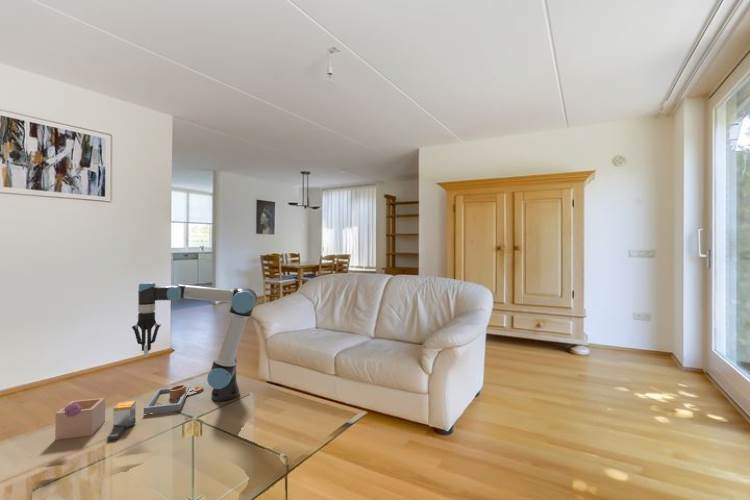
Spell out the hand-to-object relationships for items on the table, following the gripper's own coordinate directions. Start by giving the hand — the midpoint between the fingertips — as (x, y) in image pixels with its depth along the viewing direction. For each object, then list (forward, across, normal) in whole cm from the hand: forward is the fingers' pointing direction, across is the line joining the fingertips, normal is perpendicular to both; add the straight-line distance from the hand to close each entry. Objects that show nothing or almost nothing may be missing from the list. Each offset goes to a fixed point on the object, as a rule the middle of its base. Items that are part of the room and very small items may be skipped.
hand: (146, 356), depth 186 cm
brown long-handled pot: (+30, -16, -20) cm, 40 cm away
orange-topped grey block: (+28, +6, +11) cm, 31 cm away
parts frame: (+30, -8, -12) cm, 34 cm away
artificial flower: (+25, +26, +5) cm, 36 cm away
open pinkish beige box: (+30, +24, +10) cm, 40 cm away
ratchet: (+30, +6, +11) cm, 33 cm away
